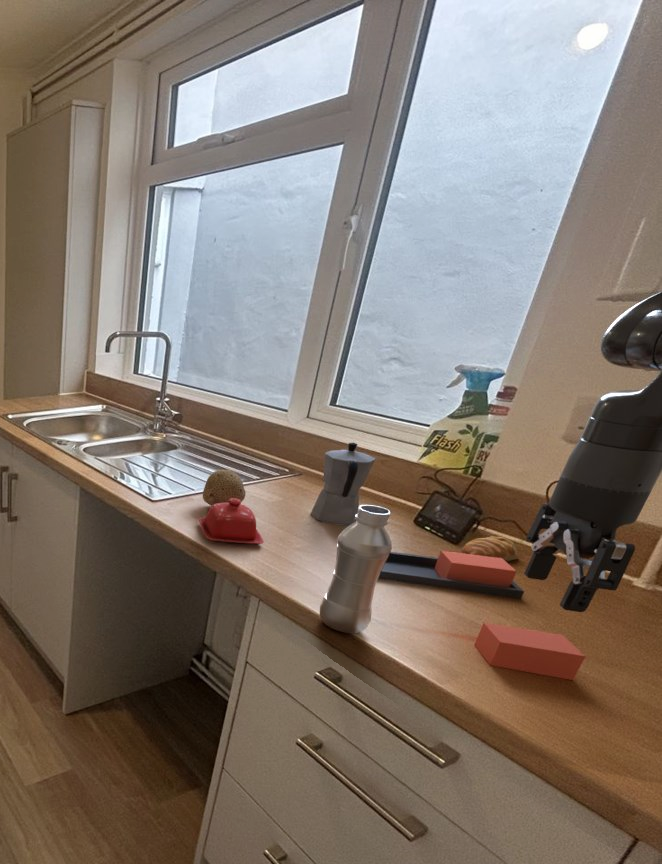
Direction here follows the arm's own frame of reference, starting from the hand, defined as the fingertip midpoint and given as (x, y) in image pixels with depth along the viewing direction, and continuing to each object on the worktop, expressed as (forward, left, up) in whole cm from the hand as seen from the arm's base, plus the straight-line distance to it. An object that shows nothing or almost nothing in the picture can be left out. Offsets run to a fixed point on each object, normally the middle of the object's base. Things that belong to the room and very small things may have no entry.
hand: (551, 592), depth 70 cm
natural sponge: (+38, -46, -12) cm, 61 cm away
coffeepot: (+14, -48, -12) cm, 51 cm away
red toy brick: (0, 0, -11) cm, 11 cm away
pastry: (-10, -37, -12) cm, 40 cm away
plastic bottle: (+22, -1, -12) cm, 25 cm away
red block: (-3, -24, -11) cm, 26 cm away
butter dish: (+37, -31, -12) cm, 50 cm away
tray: (+3, -24, -11) cm, 27 cm away
